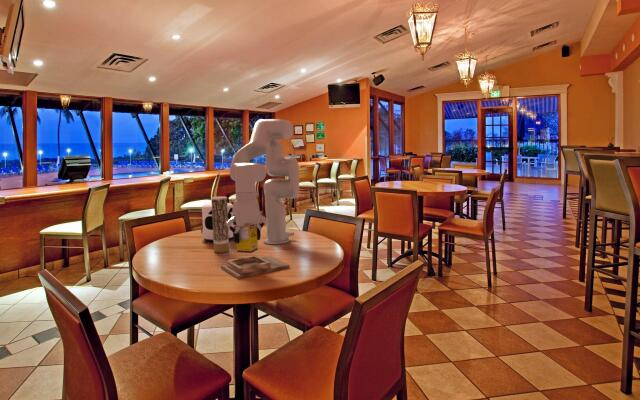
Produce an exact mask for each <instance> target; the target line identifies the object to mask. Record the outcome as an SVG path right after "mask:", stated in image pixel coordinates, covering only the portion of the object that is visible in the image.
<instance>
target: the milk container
mask: <svg viewBox="0 0 640 400" xmlns="http://www.w3.org/2000/svg"><path fill="white" fill-rule="evenodd" d="M227 210H228V220H230V219H231V218H232V210H233V204H232V203H229V202H227ZM201 213H202V214H201V215H202V225H201V229H200V231H201V232H200V233H201V237H202V239H203V240H205V241H208V242H214V240H213V219H212V202H211V203H206V204H203V205H202V206H201ZM231 225H232V227H234V225H233V224H232V223H231ZM228 234H229V240H232V239H233V232H232V231H231V230H230V229H229V228H228Z"/></svg>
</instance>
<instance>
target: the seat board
mask: <svg viewBox="0 0 640 400" xmlns="http://www.w3.org/2000/svg"><path fill="white" fill-rule="evenodd" d="M225 263H226V264H222V265H220V268H221V269H222V270H223V271H225V272H226V273H227V274H229V275H231V276H233V277H234V278H236V279H237V280H241V279H245V278H249V277H253V276H258V275H262V274H267V273H272V272H276V271H277V272H278V271H280V270H284V269H290V264H288V263H286V262H284V261H282V260H279V259H278V258H276V257H273V256H272V255H268V256H262V257H261V256H259V255H257V254H255V255H249V256H244V257H239V258H238V257H237V258H233V259H227V260H225Z"/></svg>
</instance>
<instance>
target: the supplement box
mask: <svg viewBox="0 0 640 400" xmlns="http://www.w3.org/2000/svg"><path fill="white" fill-rule="evenodd" d="M236 227H237V226H236ZM238 233H239V243H238V244H237V243H236V249H237V251H236V252H237V253H248V254H252V253H254V252H256V251H258V249H259V248H258V247H259V246H258V244H259V242H258V241H259V240H258V239H257V226H256V225H254V224H248V225H244V226H243V227H240V229H239V231H238Z"/></svg>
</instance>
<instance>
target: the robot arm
mask: <svg viewBox="0 0 640 400" xmlns="http://www.w3.org/2000/svg"><path fill="white" fill-rule="evenodd" d="M293 134H294V126H293V124H292V122H291V121H290V120H286V119H283V118H282V119H281V118H280V119H279V118H271V119H270V118H269V119H267V118H265V119H263V118H262V119H259V120H258V121H255V123H254V126H253V129H252V132H251V136H250V139H249V143H247V144H245V145H244V146H242V147H241V148H240V149H239V150H238V151H236V153H234V156H233V158H232V159H231V164H230V168H229V177H230V179H231V180H232V181H234V182H235V200H233V210H232V218H231V219H230V220H228V221H227V222H226V225H227V227H228V228H229V229H230V230H231V231H232V232H233V238H232V240H233V241H234V243H235V244H236V245H237V244H238V243H239V233H238V231H239V229H240V227H243V226H244V225H248V224H254V225H256V226H257V239H258V241H260V240H261V235H262V234H261V232H262V231H261V230H262V228H263V227H264V226H265V223H266V238H264V239H263V243H265V244H268V245H282V244H283V245H285V244H288V243H289V242H290V238H289V237H294V236H295V232H294V231H292V232H290V231H289V232H288V231H286V229H287V228H286V206H285V203H284V202H283V201H282V200H281V199H296V198H298V196H299V194H300V170H299V169H300V168H299V162H298V159H297V158H296V157H293V156H284V155H283V154H284V152H283V144H282V143H281V142H280V140H290V139H291V138H292V136H293ZM262 156H265V159H264V160H265V165H264V164H262V163H260V162H249V161H251V160H253V159H257V158H259V157H262ZM267 175H268V176H270V177H288V178H271V179H270V178H269V179H267V180H266V181H265V182H264V183H263V193H264V198H265V215H266V217H265V216H264V215H262V214H260V213H261V211H260V205H259V201H258V199H257V197H259V195H260V194H259V192H257V190H256V188H257V185H256V183H259V182H262V181H264V180H265V179H266V178H267V177H266V176H267ZM231 223H232V224H233V225H234V227H232V225H231ZM236 226H237V227H236Z"/></svg>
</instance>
